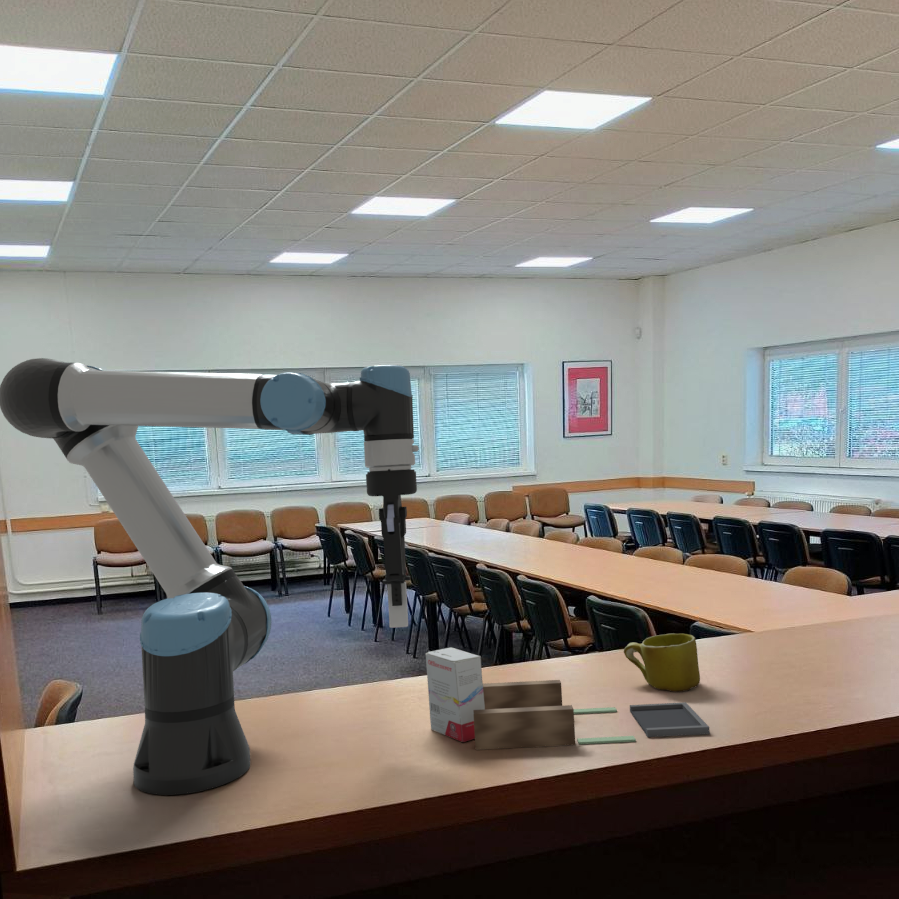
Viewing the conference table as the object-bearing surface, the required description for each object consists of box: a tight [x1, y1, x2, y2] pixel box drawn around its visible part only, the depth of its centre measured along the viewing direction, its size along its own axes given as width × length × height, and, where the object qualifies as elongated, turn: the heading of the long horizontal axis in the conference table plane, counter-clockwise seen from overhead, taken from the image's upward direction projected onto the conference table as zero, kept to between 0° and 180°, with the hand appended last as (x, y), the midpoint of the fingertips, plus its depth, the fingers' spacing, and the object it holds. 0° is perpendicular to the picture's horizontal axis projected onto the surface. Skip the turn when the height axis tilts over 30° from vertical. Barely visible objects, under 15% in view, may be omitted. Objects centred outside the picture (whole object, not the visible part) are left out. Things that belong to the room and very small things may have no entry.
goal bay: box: [573, 706, 637, 745], centre depth 120 cm, size 8×15×1 cm, turn 0°
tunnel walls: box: [473, 679, 576, 751], centre depth 120 cm, size 14×15×5 cm
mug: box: [623, 633, 701, 693], centre depth 139 cm, size 12×10×10 cm
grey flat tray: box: [629, 701, 711, 738], centre depth 120 cm, size 9×12×1 cm
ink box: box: [425, 647, 485, 743], centre depth 120 cm, size 9×5×12 cm, turn 34°
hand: (399, 626), depth 120 cm, fingers closed
